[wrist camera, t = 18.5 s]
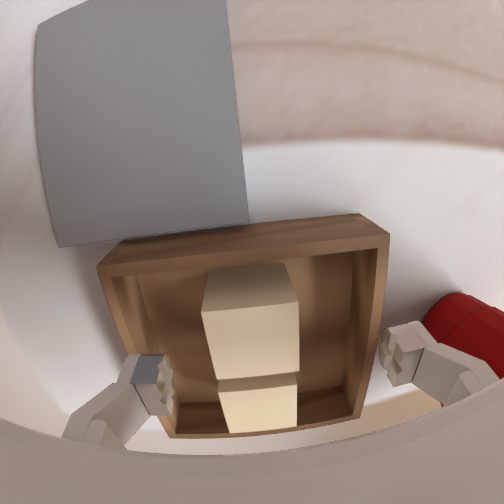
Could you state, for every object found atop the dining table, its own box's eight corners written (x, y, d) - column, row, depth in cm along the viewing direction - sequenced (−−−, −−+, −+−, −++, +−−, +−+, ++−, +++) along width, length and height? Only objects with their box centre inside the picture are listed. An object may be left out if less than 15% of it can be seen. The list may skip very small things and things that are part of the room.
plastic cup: (372, 386, 21) (425, 507, 9) (407, 266, 17) (534, 394, 6) (464, 363, 21) (525, 447, 10) (502, 260, 17) (600, 335, 6)
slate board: (46, 28, 10) (37, 24, 9) (222, -25, 10) (222, -33, 9) (66, 242, 15) (58, 247, 14) (248, 216, 15) (249, 222, 14)
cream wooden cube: (208, 271, 15) (200, 312, 12) (284, 263, 16) (298, 301, 12) (219, 331, 17) (216, 379, 13) (287, 324, 17) (299, 370, 13)
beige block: (220, 344, 17) (218, 392, 14) (286, 337, 17) (296, 384, 14) (229, 387, 19) (229, 433, 15) (287, 381, 19) (296, 426, 15)
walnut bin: (122, 240, 15) (95, 266, 12) (359, 213, 15) (390, 233, 12) (175, 401, 20) (169, 438, 17) (346, 383, 20) (359, 417, 17)
